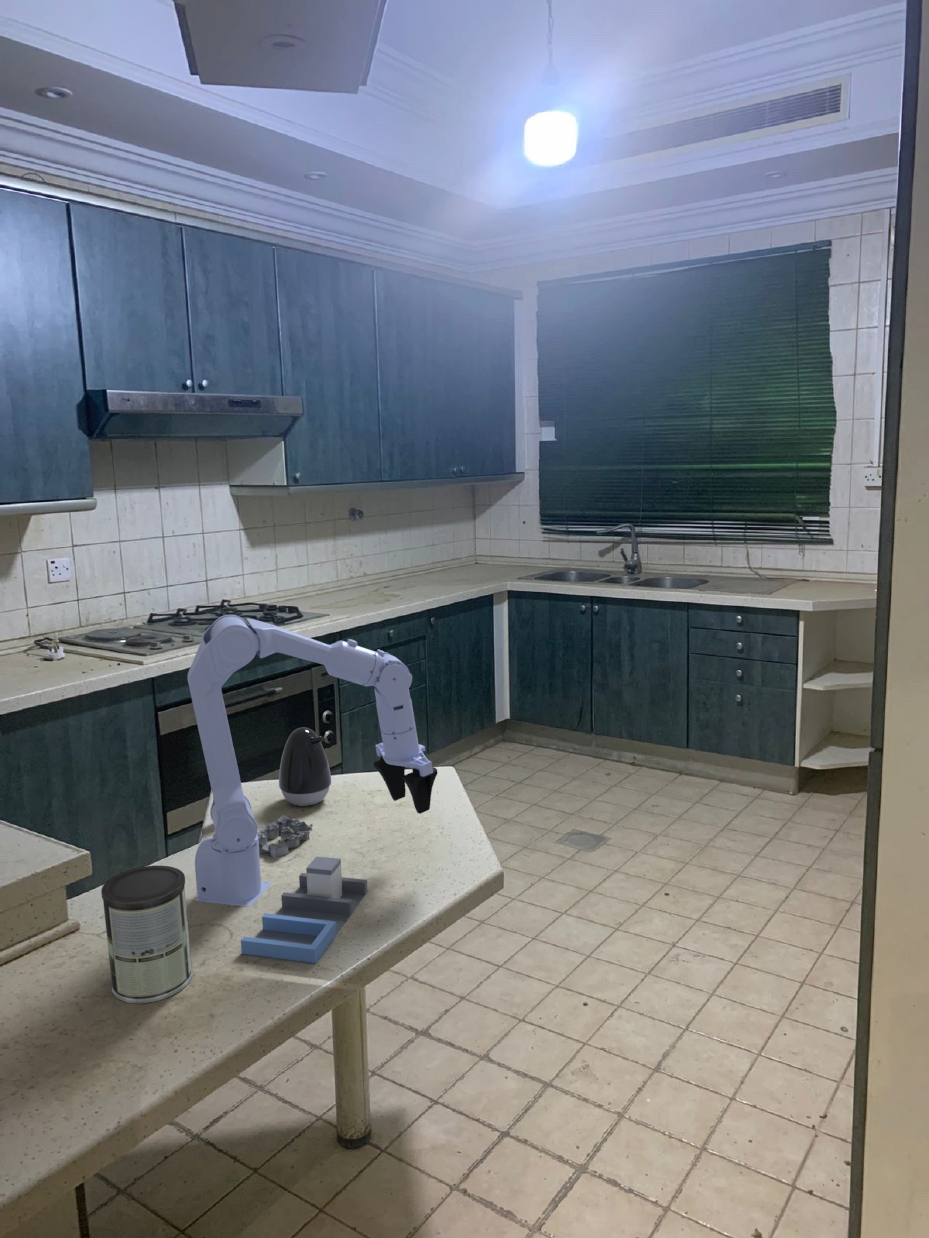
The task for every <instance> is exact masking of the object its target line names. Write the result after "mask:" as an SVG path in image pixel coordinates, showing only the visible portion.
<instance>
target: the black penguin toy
mask: <svg viewBox="0 0 929 1238" xmlns="http://www.w3.org/2000/svg"><path fill="white" fill-rule="evenodd" d="M323 741H324V737H323V736H321V735H320V736H318V735H317V733H316V732H315V731H314V730H313V729H310V727H304V726H303V727H299V728H296V729H295V730H293V731H292V732H291V733H290V734H289V736H288V739H286V742H285V745H284V748H283V751H282V755H281V759H280V765H279V773H278V787H279V789H280V790H281V793H282V796H283V798H284V799H285V800H286V802H288V803H290V804H291V805H294V806H297V805H298V806H297V807H310V806H309V805H311V806H314V805H317V804H319V803H320V802H321V801H323V800H324V799H325V798H326V796H327V795H328V792H329V790H330V786H331V785H332V775H331V770H330V766H329V761H328V758H327V754H326V752H325V748H324V747H323V744H322V742H323Z"/></svg>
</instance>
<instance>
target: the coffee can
mask: <svg viewBox="0 0 929 1238" xmlns="http://www.w3.org/2000/svg"><path fill="white" fill-rule="evenodd" d="M185 884H186V875H185V874H184V872H183V871H182V870H180V869H179V868H177V867H173V866H168V865H146V866H145V865H144V866H140V867H136V868H132V869H128V870H126V871H123V872H120V873H118V874H116V875H114V876H112V877H111V878H110V879H107V881H106V882H105V883H104V884H103V886H102V887H101V890H100V891H101V899H102V900H103V901H102V902H103V911H104V919H105V920H104V921H105V931H106V940H107V952H108V959H109V962H108V963H109V968H110V969H109V971H110V978H111V992H112V994H113V996H114V997H115V998H117V999H118V1000H120V1001H122V1002H124V1003H129V1004H149V1003H154V1002H158V1001H161V1000H165V999H167V998H169V997H172V996H174V995H176V994H178V993H180V991H182V990H183V989H184V988H185V987H187V985H189V983H190V982H191V979H192V978H193V969H192V960H191V959H192V958H191V948H190V937H189V925H188V911H187V901H186V890H185V889H186V887H185Z"/></svg>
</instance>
